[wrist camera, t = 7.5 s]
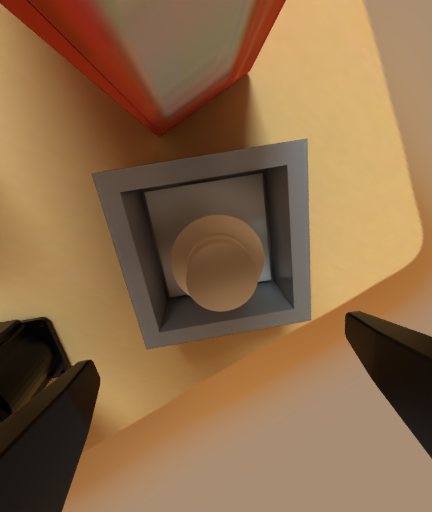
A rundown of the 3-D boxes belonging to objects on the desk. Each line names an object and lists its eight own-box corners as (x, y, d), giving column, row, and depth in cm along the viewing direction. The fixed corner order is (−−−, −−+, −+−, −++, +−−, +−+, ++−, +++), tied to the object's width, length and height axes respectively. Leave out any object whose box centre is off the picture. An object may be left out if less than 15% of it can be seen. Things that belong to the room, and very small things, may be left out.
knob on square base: (269, 276, 21) (310, 336, 13) (170, 293, 21) (155, 364, 13) (260, 173, 18) (306, 173, 10) (145, 191, 18) (107, 206, 10)
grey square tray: (284, 286, 22) (311, 320, 17) (158, 308, 22) (146, 349, 17) (276, 148, 18) (307, 138, 13) (121, 173, 18) (91, 173, 13)
